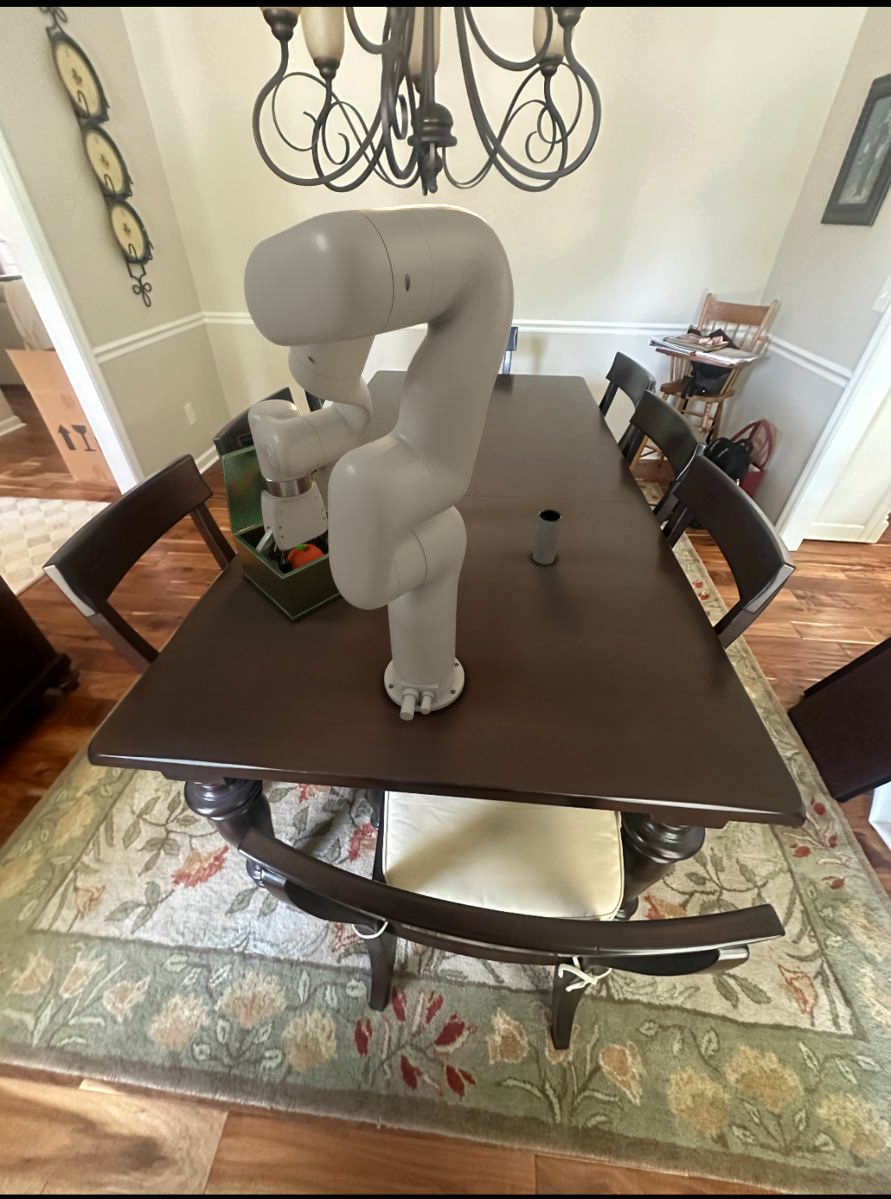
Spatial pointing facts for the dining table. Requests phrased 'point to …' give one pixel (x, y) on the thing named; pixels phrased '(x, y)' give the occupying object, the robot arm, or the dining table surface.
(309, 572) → the open green keepsake box
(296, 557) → the clementine
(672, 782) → the dining table surface
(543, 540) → the grey cylinder
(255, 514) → the lid
